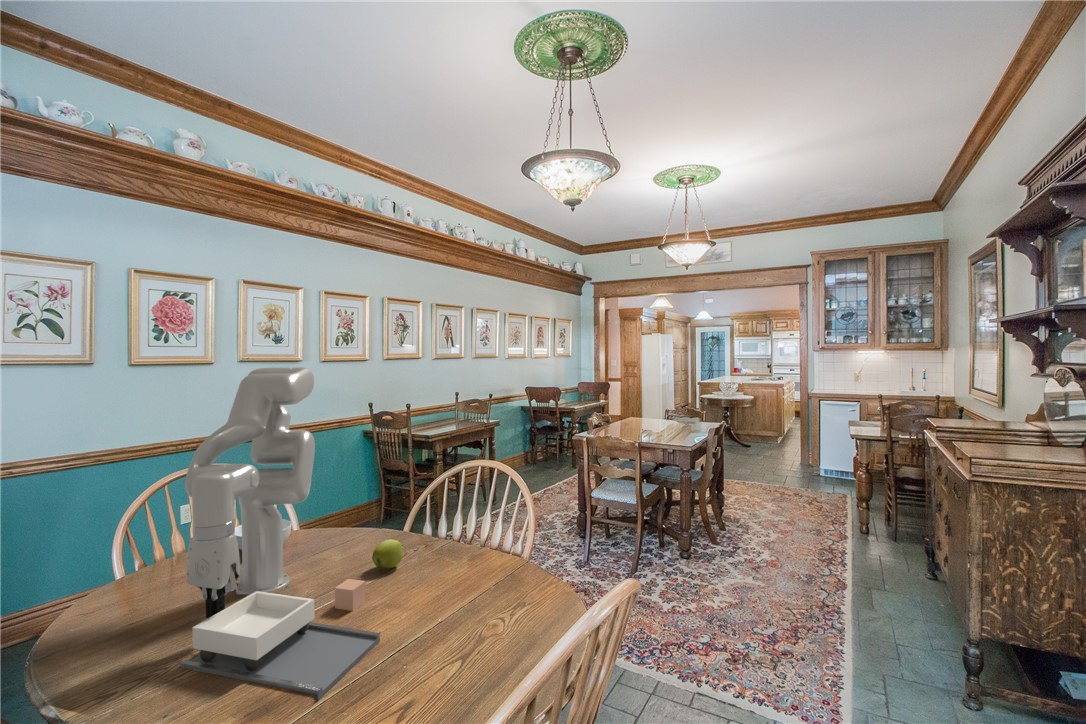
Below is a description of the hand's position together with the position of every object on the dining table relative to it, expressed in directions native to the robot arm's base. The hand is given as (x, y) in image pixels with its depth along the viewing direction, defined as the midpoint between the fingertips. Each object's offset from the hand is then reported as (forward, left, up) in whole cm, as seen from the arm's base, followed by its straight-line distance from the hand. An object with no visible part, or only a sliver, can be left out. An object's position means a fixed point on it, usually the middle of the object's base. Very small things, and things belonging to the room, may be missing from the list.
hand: (215, 615), depth 107 cm
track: (+18, 0, -6) cm, 19 cm away
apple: (+15, +43, -6) cm, 46 cm away
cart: (+11, 0, -5) cm, 12 cm away
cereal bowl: (-33, +46, -7) cm, 57 cm away
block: (+19, +20, -6) cm, 28 cm away
